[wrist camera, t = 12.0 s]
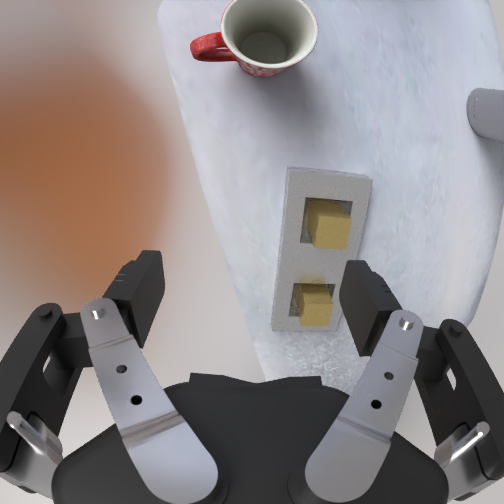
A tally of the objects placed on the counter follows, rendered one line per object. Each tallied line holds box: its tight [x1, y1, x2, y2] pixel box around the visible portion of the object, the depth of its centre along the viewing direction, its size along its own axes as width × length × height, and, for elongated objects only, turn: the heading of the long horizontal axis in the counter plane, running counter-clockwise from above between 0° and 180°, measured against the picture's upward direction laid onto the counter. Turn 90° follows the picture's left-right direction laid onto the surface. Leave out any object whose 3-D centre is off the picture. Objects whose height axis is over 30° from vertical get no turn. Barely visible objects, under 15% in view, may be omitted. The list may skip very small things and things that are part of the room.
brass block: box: [296, 283, 334, 326], centre depth 46 cm, size 4×4×7 cm
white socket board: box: [271, 166, 373, 331], centre depth 45 cm, size 28×12×3 cm, turn 177°
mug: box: [190, 0, 318, 77], centre depth 26 cm, size 13×9×14 cm
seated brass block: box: [306, 200, 352, 250], centre depth 40 cm, size 4×4×7 cm
